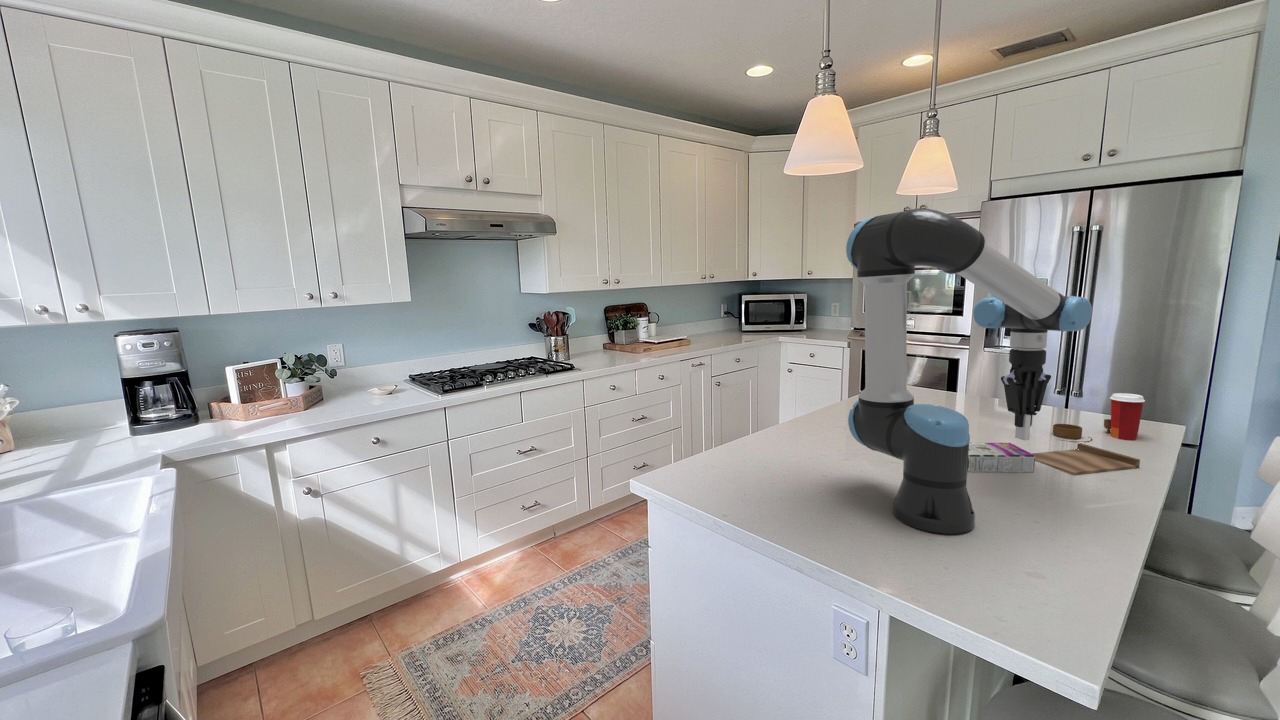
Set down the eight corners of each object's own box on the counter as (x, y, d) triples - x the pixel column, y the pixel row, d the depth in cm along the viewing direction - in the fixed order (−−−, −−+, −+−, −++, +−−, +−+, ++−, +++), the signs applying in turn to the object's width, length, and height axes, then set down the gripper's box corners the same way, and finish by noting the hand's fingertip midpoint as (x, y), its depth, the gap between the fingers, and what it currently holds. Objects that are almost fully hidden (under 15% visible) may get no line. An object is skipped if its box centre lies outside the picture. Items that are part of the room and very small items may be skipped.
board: (1073, 475, 130) (1074, 466, 129) (1020, 457, 144) (1020, 449, 144) (1139, 468, 133) (1140, 459, 133) (1080, 451, 148) (1081, 443, 148)
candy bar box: (1009, 459, 143) (946, 458, 145) (1010, 442, 142) (947, 441, 144) (1034, 474, 132) (966, 472, 134) (1036, 455, 131) (967, 454, 133)
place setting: (1033, 432, 169) (1034, 415, 169) (1110, 437, 162) (1112, 419, 161) (1052, 448, 153) (1054, 428, 153) (1139, 453, 146) (1141, 433, 145)
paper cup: (1146, 442, 154) (1151, 396, 153) (1132, 445, 152) (1136, 398, 150) (1114, 435, 162) (1118, 391, 160) (1100, 439, 159) (1103, 394, 157)
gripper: (1019, 351, 127) (1013, 444, 130) (1063, 348, 129) (1057, 440, 132) (993, 348, 134) (988, 436, 137) (1035, 345, 136) (1030, 433, 140)
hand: (1022, 438), depth 135 cm, fingers closed
